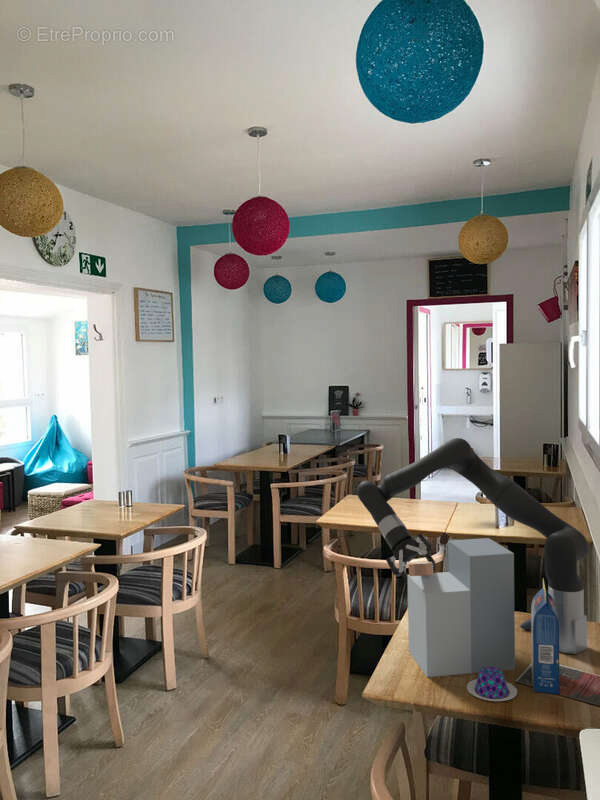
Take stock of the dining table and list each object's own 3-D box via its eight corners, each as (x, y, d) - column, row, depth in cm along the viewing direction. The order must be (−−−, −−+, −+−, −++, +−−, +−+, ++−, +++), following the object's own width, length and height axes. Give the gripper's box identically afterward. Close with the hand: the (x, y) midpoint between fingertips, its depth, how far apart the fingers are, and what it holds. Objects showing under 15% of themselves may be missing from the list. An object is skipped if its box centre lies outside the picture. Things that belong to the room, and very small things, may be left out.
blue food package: (556, 672, 176) (555, 578, 175) (560, 694, 164) (559, 593, 163) (531, 670, 178) (530, 576, 176) (532, 691, 166) (532, 591, 165)
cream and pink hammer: (432, 575, 175) (431, 563, 176) (409, 576, 177) (408, 564, 177) (438, 571, 198) (437, 561, 199) (417, 573, 199) (416, 562, 200)
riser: (515, 669, 178) (513, 553, 177) (427, 677, 175) (425, 559, 174) (490, 644, 194) (488, 538, 193) (408, 651, 191) (406, 543, 190)
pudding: (464, 700, 164) (464, 679, 163) (468, 678, 175) (468, 658, 175) (516, 707, 160) (516, 685, 159) (517, 684, 171) (517, 663, 171)
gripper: (372, 542, 210) (398, 585, 200) (408, 515, 208) (436, 556, 198) (382, 549, 216) (408, 591, 205) (417, 522, 214) (445, 563, 203)
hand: (422, 574), depth 201 cm, fingers open, 8 cm apart
